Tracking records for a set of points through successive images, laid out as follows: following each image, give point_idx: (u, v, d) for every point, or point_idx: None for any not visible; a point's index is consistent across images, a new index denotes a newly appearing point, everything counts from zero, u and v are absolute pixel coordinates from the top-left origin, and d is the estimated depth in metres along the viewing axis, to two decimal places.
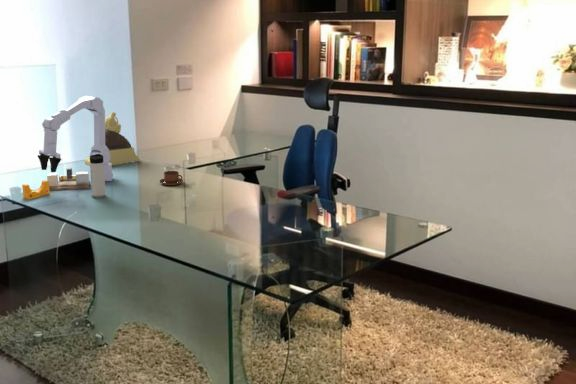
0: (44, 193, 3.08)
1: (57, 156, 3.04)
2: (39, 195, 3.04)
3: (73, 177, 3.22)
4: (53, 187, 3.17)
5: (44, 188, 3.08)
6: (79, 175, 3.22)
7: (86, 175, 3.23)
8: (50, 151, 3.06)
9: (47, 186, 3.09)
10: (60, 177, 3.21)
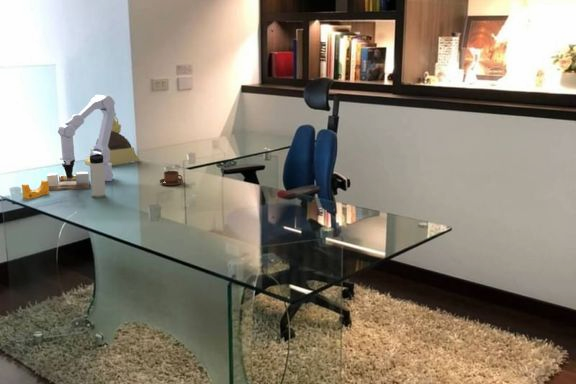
0: (43, 193, 3.08)
1: (66, 163, 3.14)
2: (38, 195, 3.05)
3: (73, 177, 3.22)
4: (53, 187, 3.17)
5: (44, 188, 3.08)
6: (79, 175, 3.22)
7: (86, 175, 3.23)
8: (65, 157, 3.18)
9: (46, 186, 3.09)
10: (60, 177, 3.21)
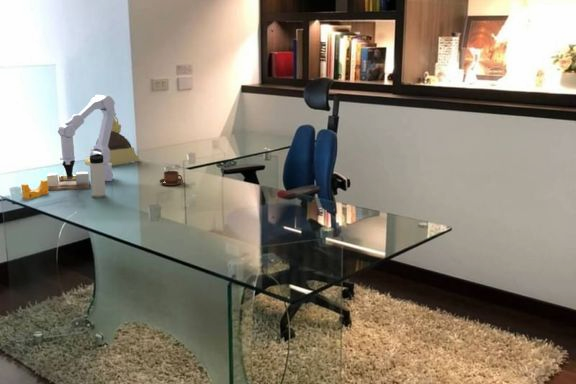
0: (43, 193, 3.09)
1: (66, 163, 3.14)
2: (38, 195, 3.05)
3: (73, 177, 3.22)
4: (53, 187, 3.17)
5: (43, 188, 3.08)
6: (79, 175, 3.22)
7: (86, 175, 3.23)
8: (65, 157, 3.18)
9: (46, 186, 3.09)
10: (60, 177, 3.21)
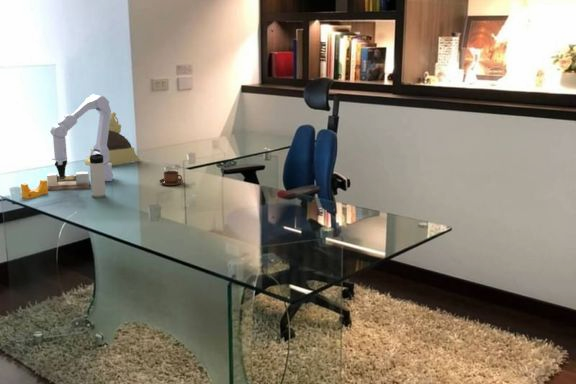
0: (42, 192, 3.09)
1: (58, 163, 3.13)
2: (38, 195, 3.05)
3: (65, 177, 3.22)
4: (53, 187, 3.17)
5: (43, 188, 3.09)
6: (79, 175, 3.22)
7: (86, 175, 3.23)
8: (57, 157, 3.17)
9: (45, 185, 3.10)
10: None
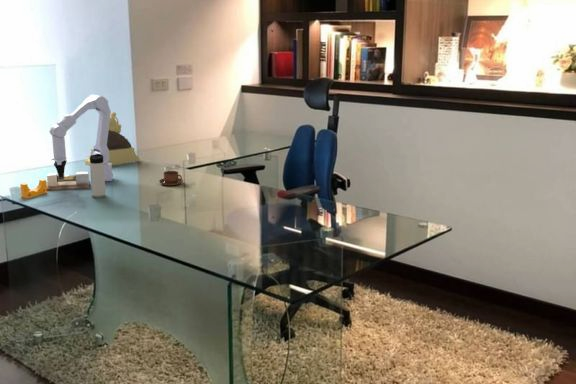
0: (42, 192, 3.09)
1: (57, 163, 3.13)
2: (37, 195, 3.06)
3: (65, 177, 3.21)
4: (53, 187, 3.17)
5: (42, 187, 3.09)
6: (79, 175, 3.22)
7: (86, 175, 3.23)
8: (56, 158, 3.17)
9: (45, 185, 3.10)
10: None
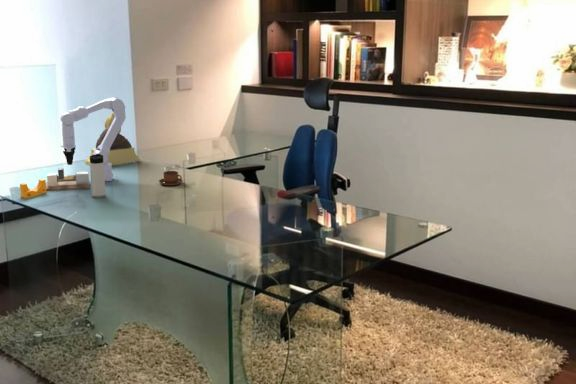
0: (41, 192, 3.10)
1: (67, 150, 3.19)
2: (36, 194, 3.06)
3: (65, 177, 3.21)
4: (53, 187, 3.17)
5: (41, 187, 3.09)
6: (79, 175, 3.22)
7: (86, 175, 3.23)
8: (66, 145, 3.23)
9: (44, 185, 3.11)
10: None
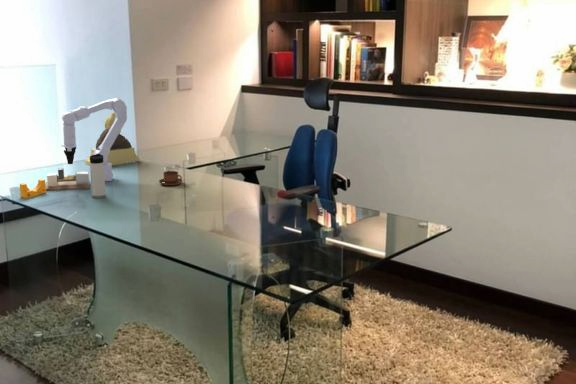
0: (41, 192, 3.10)
1: (68, 149, 3.20)
2: (36, 194, 3.06)
3: (65, 177, 3.21)
4: (53, 187, 3.17)
5: (41, 187, 3.10)
6: (79, 175, 3.22)
7: (86, 175, 3.23)
8: (66, 144, 3.24)
9: (44, 185, 3.11)
10: None
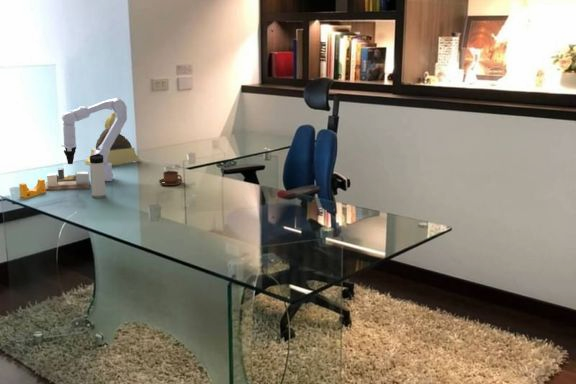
0: (40, 192, 3.10)
1: (68, 149, 3.20)
2: (36, 194, 3.06)
3: (65, 177, 3.21)
4: (53, 187, 3.17)
5: (40, 187, 3.10)
6: (79, 175, 3.22)
7: (86, 175, 3.23)
8: (66, 144, 3.24)
9: (43, 185, 3.11)
10: None
